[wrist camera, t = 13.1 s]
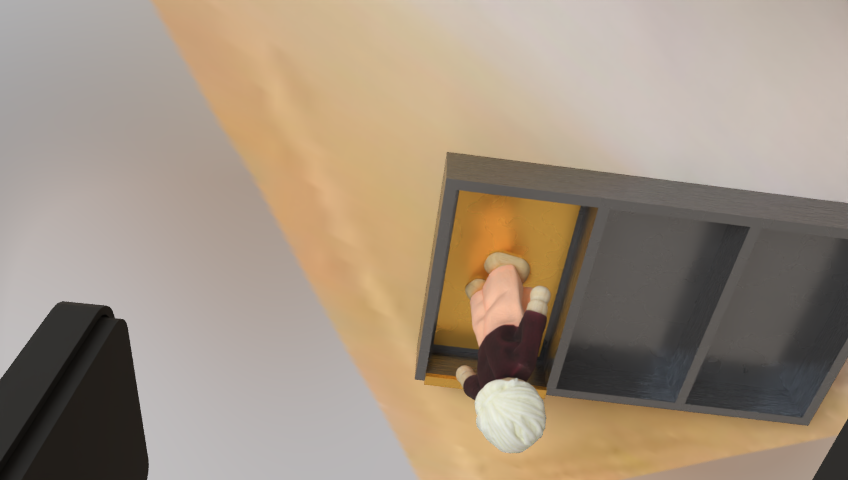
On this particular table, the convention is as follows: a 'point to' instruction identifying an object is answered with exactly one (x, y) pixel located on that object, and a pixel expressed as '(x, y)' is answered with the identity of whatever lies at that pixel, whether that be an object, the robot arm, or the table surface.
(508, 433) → the grandmother figurine
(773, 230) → the tray
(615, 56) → the table surface
